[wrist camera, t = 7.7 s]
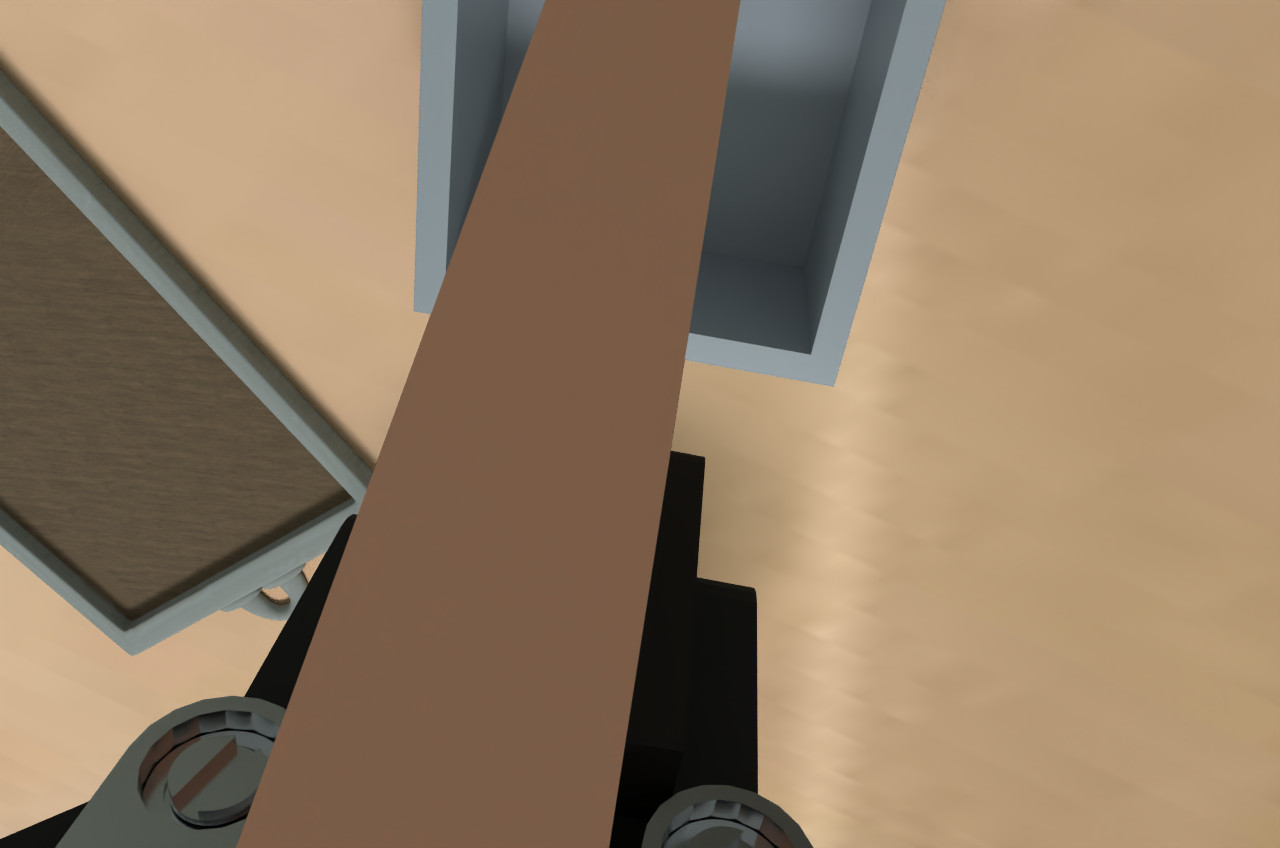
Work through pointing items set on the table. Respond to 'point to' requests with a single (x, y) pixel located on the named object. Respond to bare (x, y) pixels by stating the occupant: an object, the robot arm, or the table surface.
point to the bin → (719, 163)
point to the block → (521, 468)
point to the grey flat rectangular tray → (142, 415)
